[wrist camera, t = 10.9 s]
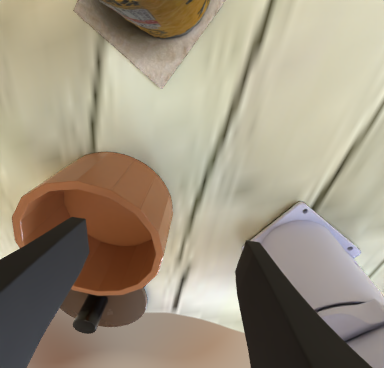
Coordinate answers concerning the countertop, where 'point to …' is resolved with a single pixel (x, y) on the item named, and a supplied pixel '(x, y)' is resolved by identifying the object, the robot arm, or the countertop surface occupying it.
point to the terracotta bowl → (104, 219)
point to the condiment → (150, 30)
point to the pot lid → (104, 309)
